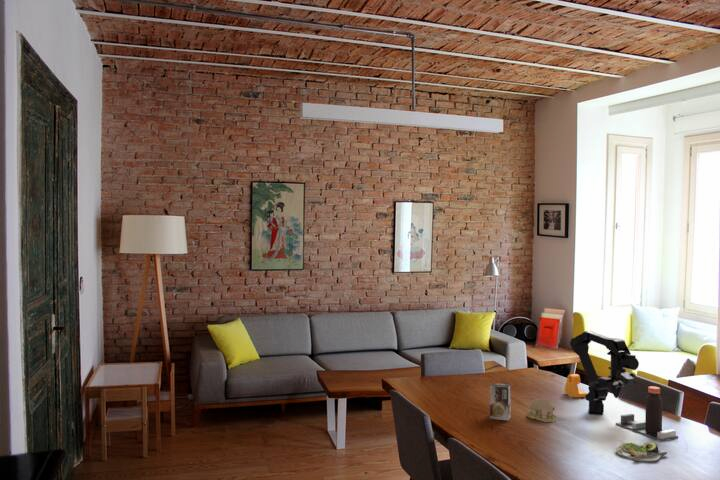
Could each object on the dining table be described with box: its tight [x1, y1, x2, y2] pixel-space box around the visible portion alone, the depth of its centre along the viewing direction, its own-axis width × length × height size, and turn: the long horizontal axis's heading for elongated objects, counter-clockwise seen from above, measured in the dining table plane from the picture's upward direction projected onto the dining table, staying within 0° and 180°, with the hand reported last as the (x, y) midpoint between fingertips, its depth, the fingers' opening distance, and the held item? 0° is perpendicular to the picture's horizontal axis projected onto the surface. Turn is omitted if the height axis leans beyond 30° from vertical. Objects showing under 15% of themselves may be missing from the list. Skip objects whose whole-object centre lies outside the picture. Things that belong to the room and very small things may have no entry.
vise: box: [615, 420, 679, 442], centre depth 276 cm, size 24×11×3 cm, turn 24°
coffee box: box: [489, 382, 512, 421], centre depth 294 cm, size 9×6×16 cm
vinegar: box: [644, 385, 663, 434], centre depth 273 cm, size 7×7×20 cm
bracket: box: [564, 373, 588, 398], centre depth 335 cm, size 11×7×12 cm, turn 13°
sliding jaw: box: [620, 413, 645, 429], centre depth 282 cm, size 10×9×4 cm
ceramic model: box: [526, 397, 557, 423], centre depth 295 cm, size 14×11×10 cm
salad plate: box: [614, 441, 668, 463], centre depth 246 cm, size 19×18×5 cm
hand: (616, 397), depth 292 cm, fingers closed
